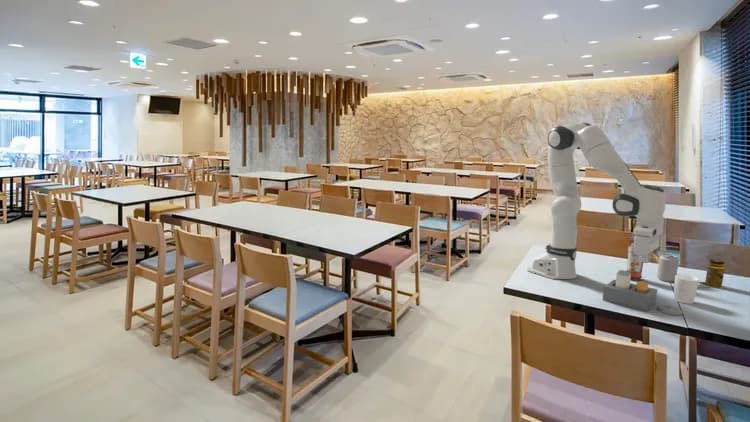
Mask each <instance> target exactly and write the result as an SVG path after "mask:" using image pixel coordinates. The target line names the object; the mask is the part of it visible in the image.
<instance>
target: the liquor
mask: <svg viewBox="0 0 750 422" xmlns="http://www.w3.org/2000/svg"><path fill="white" fill-rule="evenodd" d="M634 237H635V235H634V236H631V237H630V238H628V246H627V247H628V249H627V267H626V271H628V272H630V275H631V278H630V281H640V280H641V279H642V278H643V276H642V273H643V266H644V263H643V262H642V259H643V258H642V256H640V255H635V253H634Z"/></svg>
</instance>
